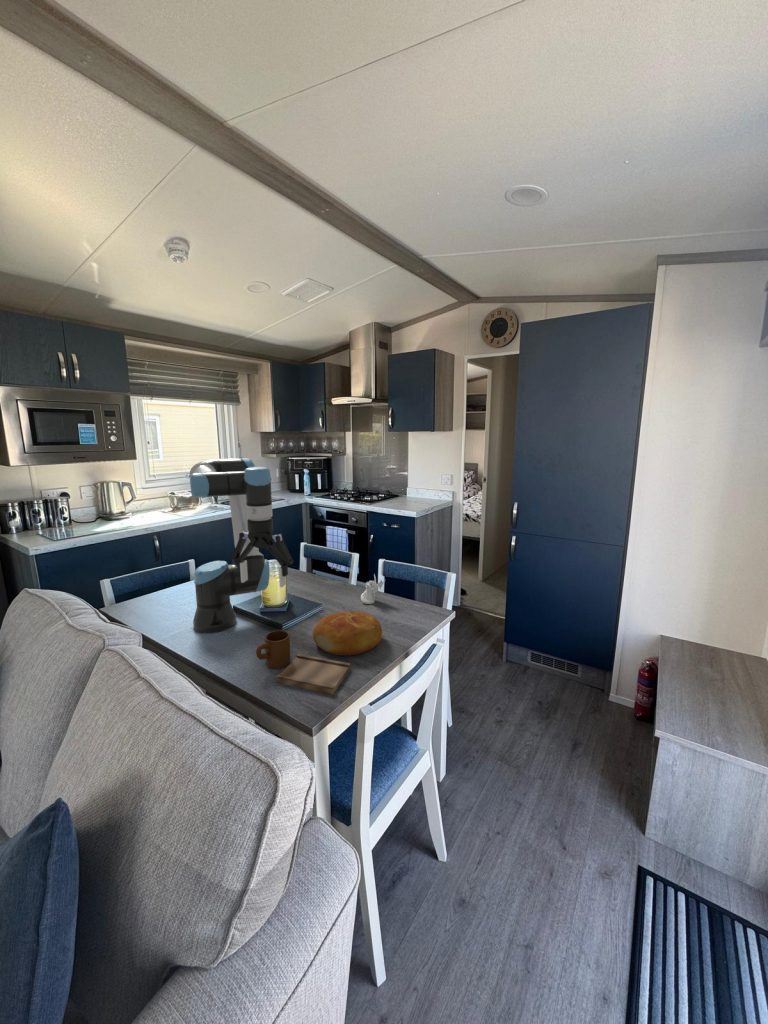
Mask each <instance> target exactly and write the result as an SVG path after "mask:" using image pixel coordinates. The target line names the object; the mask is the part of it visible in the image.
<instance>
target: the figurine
mask: <svg viewBox="0 0 768 1024" xmlns="http://www.w3.org/2000/svg"><path fill="white" fill-rule="evenodd" d="M373 577H374V580H369V581H366V582H365V588H366V589H365V590H364V592H362V593H361V595H360V600H361V601H362V602H363V604H365V605H373V604H374V603H376V602H375V597H376V593H377V592H379V591H378V590H379V589H380V590H381V588H382V587H383V584H385V581H386V580H384V581H383V579H381V580H380V581H379V582H378V583H377V578H376V575H375V573H374V574H373Z"/></svg>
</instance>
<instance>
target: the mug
mask: <svg viewBox="0 0 768 1024" xmlns="http://www.w3.org/2000/svg"><path fill="white" fill-rule="evenodd" d="M263 649H264V650H265V652H264V653H262V650H263ZM255 657H256V658H257V660H260V661H262V660H263V661H264V660H265V664H266V666H267V667H269V669H270V668H271V669H273V670H274V669H275V670H279V669H283V668H286V667H288V665H289V664H290V663H291V639H290V633H289V632H288V631H286V630H273V631H270V632H268V633H266V635H265V637H264V643H261V644H259V645H258V646H257V648H256V649H255Z"/></svg>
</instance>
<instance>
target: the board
mask: <svg viewBox="0 0 768 1024" xmlns="http://www.w3.org/2000/svg"><path fill="white" fill-rule="evenodd" d="M350 671H351V663H350V662H344V661H338V660H333V659H328V658H324V657H317V656H311V655H308V654H301V653H298V654H296V657H295V658H294V659H293V660H292V661H290V663H289V664H288V665H287V666H286V667H285V669H283V671H281V673H280V674H277V675H276V676H275V678H276V680H275V681H276V683H277V684H281V685H286V686H292V687H295V688H299V689H305V690H310V691H315V692H320V693H324V694H328V695H334V694H335V692H336V691H337V690H338V688H339V686H340V685H341V684H342V682H343V681H344V679H345V678H346V677H347V675H348V674H349V672H350Z"/></svg>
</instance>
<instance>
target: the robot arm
mask: <svg viewBox="0 0 768 1024" xmlns="http://www.w3.org/2000/svg"><path fill="white" fill-rule="evenodd" d="M189 484H190V492H191V496H192V497H193V498H195V499H196V498H197V499H198V498H202V499H203V498H204V499H205V498H212V497H213V498H214V497H226V496H227V497H228V498H229V499H228V500H229V506H230V507H229V508H230V515H231V523H232V524H231V525H232V532H233V534H232V535H233V541H234V542H233V543H234V548H235V549H234V551H233V554H232V556H231V560H232V563H231V564H229V563H228V562H227V561H225V560H213V561H210V562H207V563H204V564H202V565H200V566H198V567H197V568H196V569H195V571H194V581H193V583H194V586H195V589H194V590H195V597H196V600H195V601H196V609H195V612H194V616H193V617H194V618H193V621H192V624H193V625H192V626H193V630H195V632H197V633H202V634H203V633H205V634H211V633H212V634H213V633H219V632H223V631H226V630H228V629H230V628H232V627H234V626H235V624H236V622H237V614H236V612H235V611H234V608H233V605H232V603H231V597H232V596H238V595H239V596H240V595H244V594H250V593H257V592H261V591H265V590H267V588H268V587H269V585H270V576H271V575H270V574H271V572H270V571H271V569H270V562H269V560H268V559H265V557H264V554H262V553H261V552H260V551H259V550H260V549H266V550H267V551H269V552H270V554H271V555H272V556H273V558H274V559H275V560H276V561H277V563H278V564H279V565H280V566H278V578H279V581H278V582H279V588H283V587H285V585H287V576H288V574H289V568H288V567H289V566H290V565H293V564H294V559H293V558H292V555H291V554H290V551H289V549H288V547H287V545H286V544H285V541H284V536H283V534H282V533H279V534H274V532H273V531H274V521H273V518H272V517H273V515H274V514H273V499H272V498H273V497H272V476H271V470H270V468H268V467H265V466H255V463H254V462H253V460H252V459H251V458H248V457H237V458H236V457H235V458H231V457H230V458H210V459H205V460H203V461H202V460H201V461H199V462H197V463H195V464H194V465H192V467H191V469H190V470H189ZM259 548H260V549H259Z"/></svg>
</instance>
